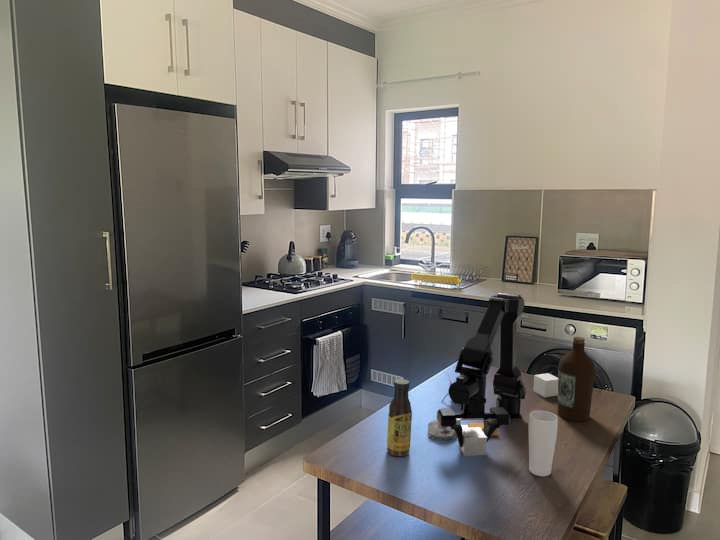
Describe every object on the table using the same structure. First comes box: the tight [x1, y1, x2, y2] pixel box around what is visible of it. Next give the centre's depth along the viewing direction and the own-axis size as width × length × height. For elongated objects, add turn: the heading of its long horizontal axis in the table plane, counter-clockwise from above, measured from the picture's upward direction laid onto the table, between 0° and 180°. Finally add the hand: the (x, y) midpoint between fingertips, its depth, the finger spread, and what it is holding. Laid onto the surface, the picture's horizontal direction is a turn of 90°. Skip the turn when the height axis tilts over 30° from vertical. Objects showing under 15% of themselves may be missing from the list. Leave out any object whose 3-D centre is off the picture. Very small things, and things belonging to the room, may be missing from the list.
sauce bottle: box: [386, 378, 413, 457], centre depth 142 cm, size 6×6×20 cm
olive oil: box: [556, 336, 596, 422], centre depth 165 cm, size 11×11×25 cm
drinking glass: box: [527, 409, 559, 478], centre depth 133 cm, size 7×7×15 cm
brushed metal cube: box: [457, 427, 488, 457], centre depth 144 cm, size 6×6×5 cm
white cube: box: [532, 372, 558, 398], centre depth 184 cm, size 6×6×6 cm
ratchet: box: [427, 418, 499, 441], centre depth 154 cm, size 20×8×5 cm, turn 94°
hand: (471, 446), depth 145 cm, fingers closed on brushed metal cube, 6 cm apart
